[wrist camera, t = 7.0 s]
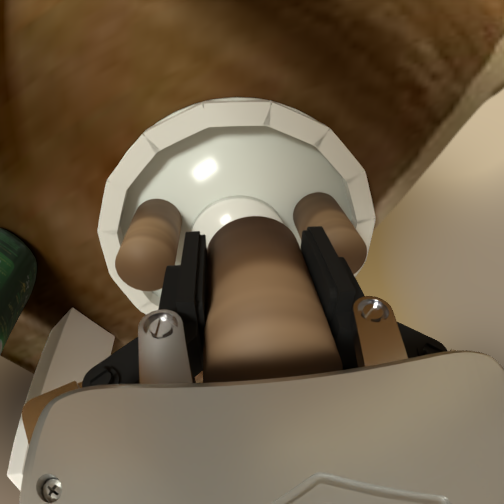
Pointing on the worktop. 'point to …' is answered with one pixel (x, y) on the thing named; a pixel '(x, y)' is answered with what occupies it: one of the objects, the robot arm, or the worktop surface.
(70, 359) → the milk
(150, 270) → the brown cylinder
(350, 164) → the groove tray
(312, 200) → the brown round peg
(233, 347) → the tan rounded cylinder
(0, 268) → the coffee jar
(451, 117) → the worktop surface
